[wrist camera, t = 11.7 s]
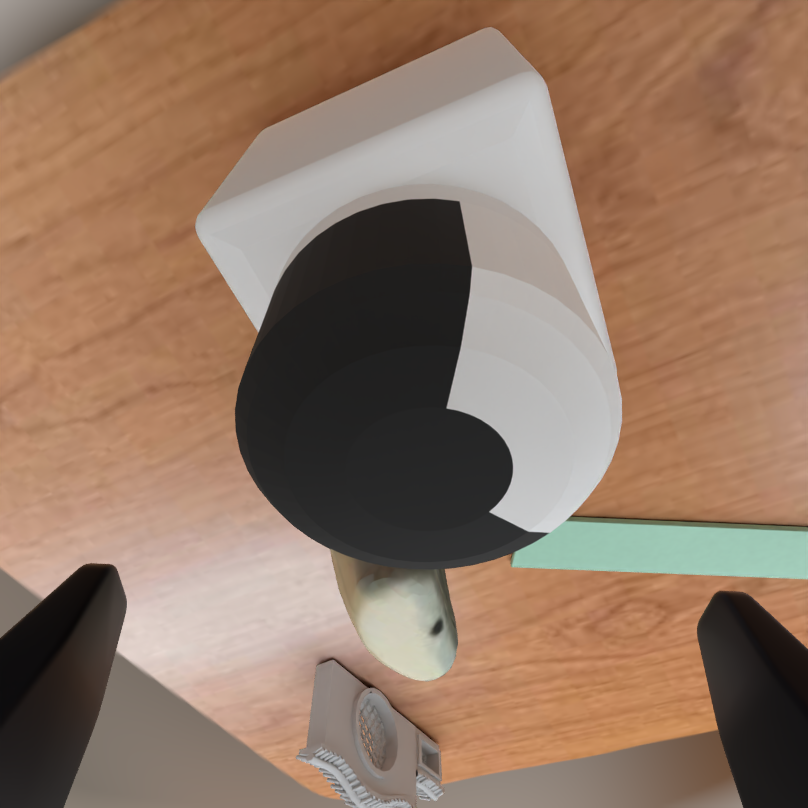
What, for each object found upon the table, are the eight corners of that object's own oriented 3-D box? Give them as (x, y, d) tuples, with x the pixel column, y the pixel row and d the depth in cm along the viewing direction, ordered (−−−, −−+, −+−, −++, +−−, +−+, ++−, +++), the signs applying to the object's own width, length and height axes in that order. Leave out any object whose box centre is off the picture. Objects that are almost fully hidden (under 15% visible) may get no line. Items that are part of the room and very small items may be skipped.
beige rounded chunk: (492, 469, 26) (522, 648, 19) (405, 531, 28) (404, 710, 21) (389, 390, 23) (382, 564, 17) (302, 465, 25) (267, 644, 19)
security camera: (359, 333, 22) (321, 650, 12) (254, 131, 18) (75, 362, 8) (562, 260, 20) (704, 560, 10) (496, 20, 16) (627, 146, 7)
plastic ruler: (860, 528, 28) (864, 534, 27) (826, 575, 29) (830, 580, 29) (522, 514, 27) (523, 519, 27) (510, 562, 29) (511, 567, 29)
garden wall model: (444, 743, 40) (449, 853, 35) (420, 750, 40) (422, 859, 35) (334, 652, 34) (322, 771, 29) (307, 662, 34) (291, 780, 29)
